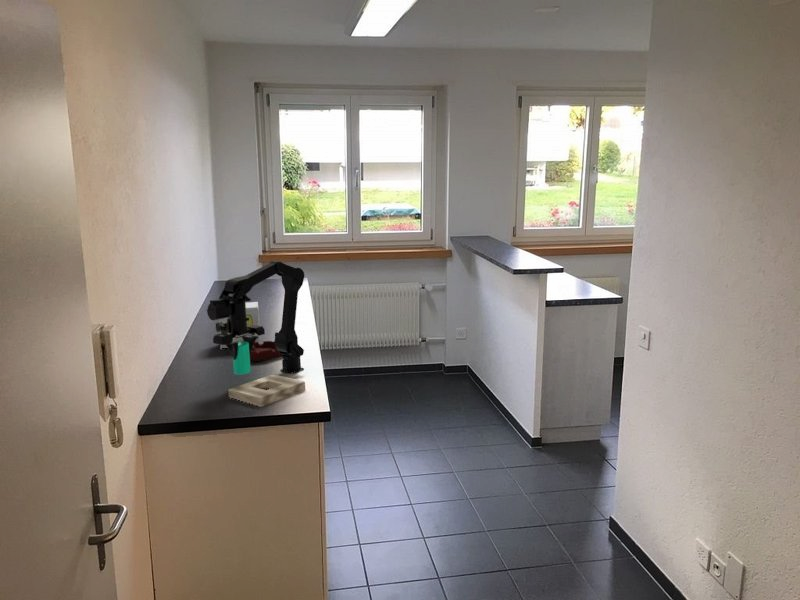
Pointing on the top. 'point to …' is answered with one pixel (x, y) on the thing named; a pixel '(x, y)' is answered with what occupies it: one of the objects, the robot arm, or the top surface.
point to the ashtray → (264, 351)
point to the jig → (261, 396)
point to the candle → (242, 359)
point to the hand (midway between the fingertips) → (241, 358)
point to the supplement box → (253, 316)
